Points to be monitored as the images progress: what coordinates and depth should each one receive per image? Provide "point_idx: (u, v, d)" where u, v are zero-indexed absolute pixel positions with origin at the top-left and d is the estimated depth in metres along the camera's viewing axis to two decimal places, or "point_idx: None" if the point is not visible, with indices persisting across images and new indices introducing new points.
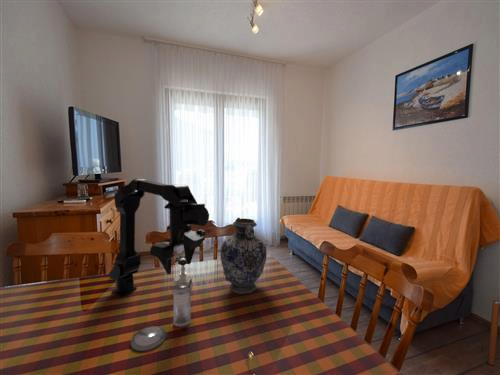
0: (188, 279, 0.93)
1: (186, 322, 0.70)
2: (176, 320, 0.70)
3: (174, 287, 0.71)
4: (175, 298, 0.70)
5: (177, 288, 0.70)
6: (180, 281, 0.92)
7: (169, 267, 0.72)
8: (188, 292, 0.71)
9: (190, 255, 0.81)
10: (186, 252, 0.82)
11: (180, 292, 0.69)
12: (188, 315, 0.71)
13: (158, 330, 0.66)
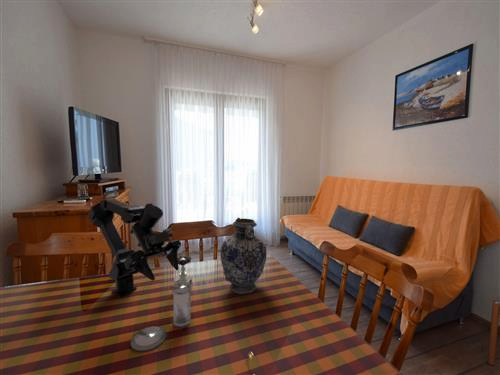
0: (188, 279, 0.93)
1: (186, 322, 0.70)
2: (176, 320, 0.70)
3: (174, 287, 0.71)
4: (175, 298, 0.70)
5: (177, 288, 0.70)
6: (180, 281, 0.92)
7: (149, 271, 0.72)
8: (188, 292, 0.71)
9: (174, 260, 0.80)
10: (171, 262, 0.82)
11: (180, 292, 0.69)
12: (188, 315, 0.71)
13: (158, 330, 0.66)
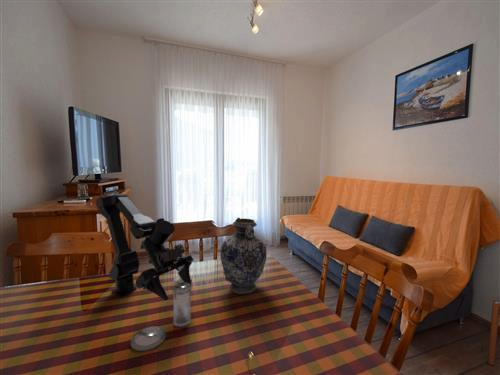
0: None
1: (186, 322, 0.70)
2: (176, 320, 0.70)
3: (174, 287, 0.71)
4: (175, 298, 0.70)
5: (177, 288, 0.70)
6: (180, 281, 0.92)
7: (162, 291, 0.68)
8: (188, 292, 0.71)
9: (187, 277, 0.77)
10: (183, 278, 0.78)
11: (180, 292, 0.69)
12: (188, 315, 0.71)
13: (158, 330, 0.66)
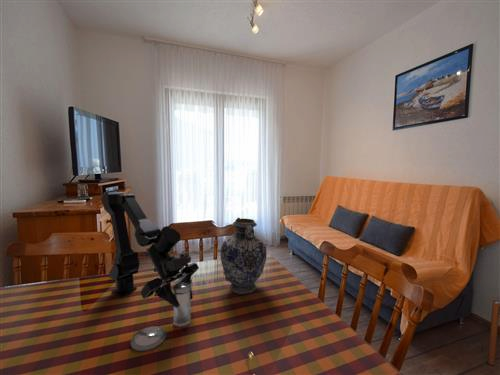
0: None
1: (186, 322, 0.70)
2: (176, 320, 0.70)
3: (174, 287, 0.71)
4: None
5: (177, 288, 0.70)
6: None
7: (173, 298, 0.69)
8: (188, 292, 0.71)
9: None
10: None
11: (180, 292, 0.69)
12: (188, 315, 0.71)
13: (158, 330, 0.66)
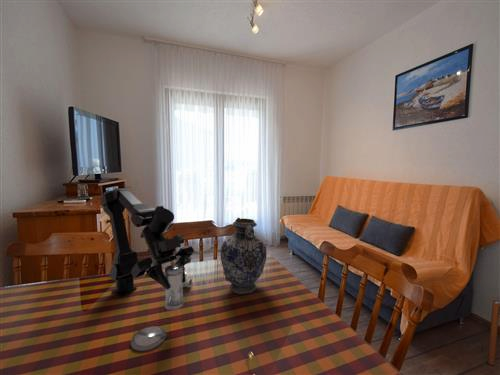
0: (188, 279, 0.93)
1: (177, 305, 0.68)
2: (167, 302, 0.67)
3: (166, 268, 0.68)
4: None
5: (169, 269, 0.68)
6: None
7: (164, 279, 0.66)
8: (180, 274, 0.68)
9: None
10: None
11: (171, 273, 0.66)
12: (180, 298, 0.68)
13: (158, 330, 0.66)
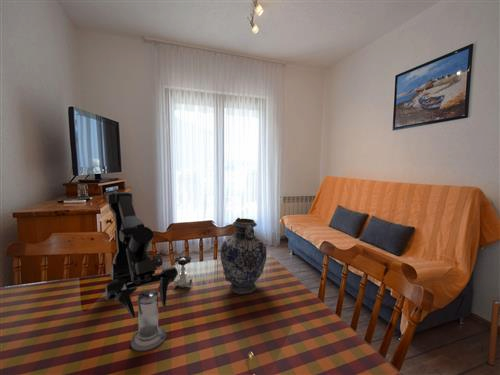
0: (188, 279, 0.93)
1: (149, 336, 0.62)
2: (139, 332, 0.63)
3: (140, 295, 0.64)
4: (138, 307, 0.62)
5: (141, 296, 0.63)
6: (180, 281, 0.92)
7: (129, 307, 0.61)
8: (152, 303, 0.62)
9: (162, 294, 0.67)
10: (161, 295, 0.68)
11: (142, 302, 0.61)
12: (152, 329, 0.63)
13: None
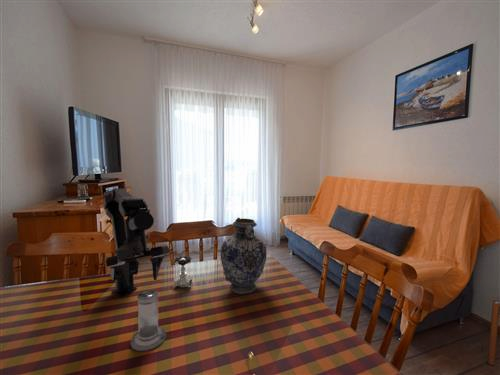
0: (188, 279, 0.93)
1: (149, 336, 0.62)
2: (139, 332, 0.63)
3: (139, 295, 0.64)
4: (138, 307, 0.62)
5: (141, 297, 0.63)
6: (180, 281, 0.92)
7: (122, 278, 0.73)
8: (152, 303, 0.62)
9: None
10: None
11: (142, 302, 0.61)
12: (152, 329, 0.63)
13: None
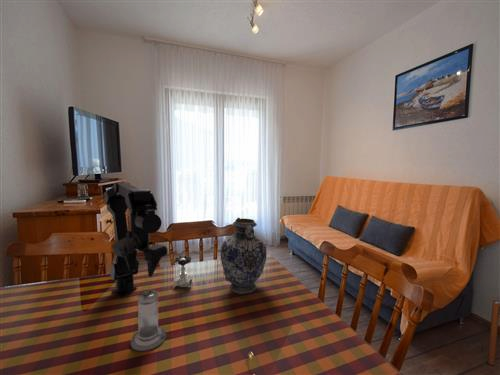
0: (188, 279, 0.93)
1: (149, 336, 0.62)
2: (139, 332, 0.63)
3: (139, 295, 0.64)
4: (138, 307, 0.62)
5: (141, 297, 0.63)
6: (180, 281, 0.92)
7: (127, 263, 0.78)
8: (152, 303, 0.62)
9: None
10: None
11: (142, 302, 0.61)
12: (152, 329, 0.63)
13: None
